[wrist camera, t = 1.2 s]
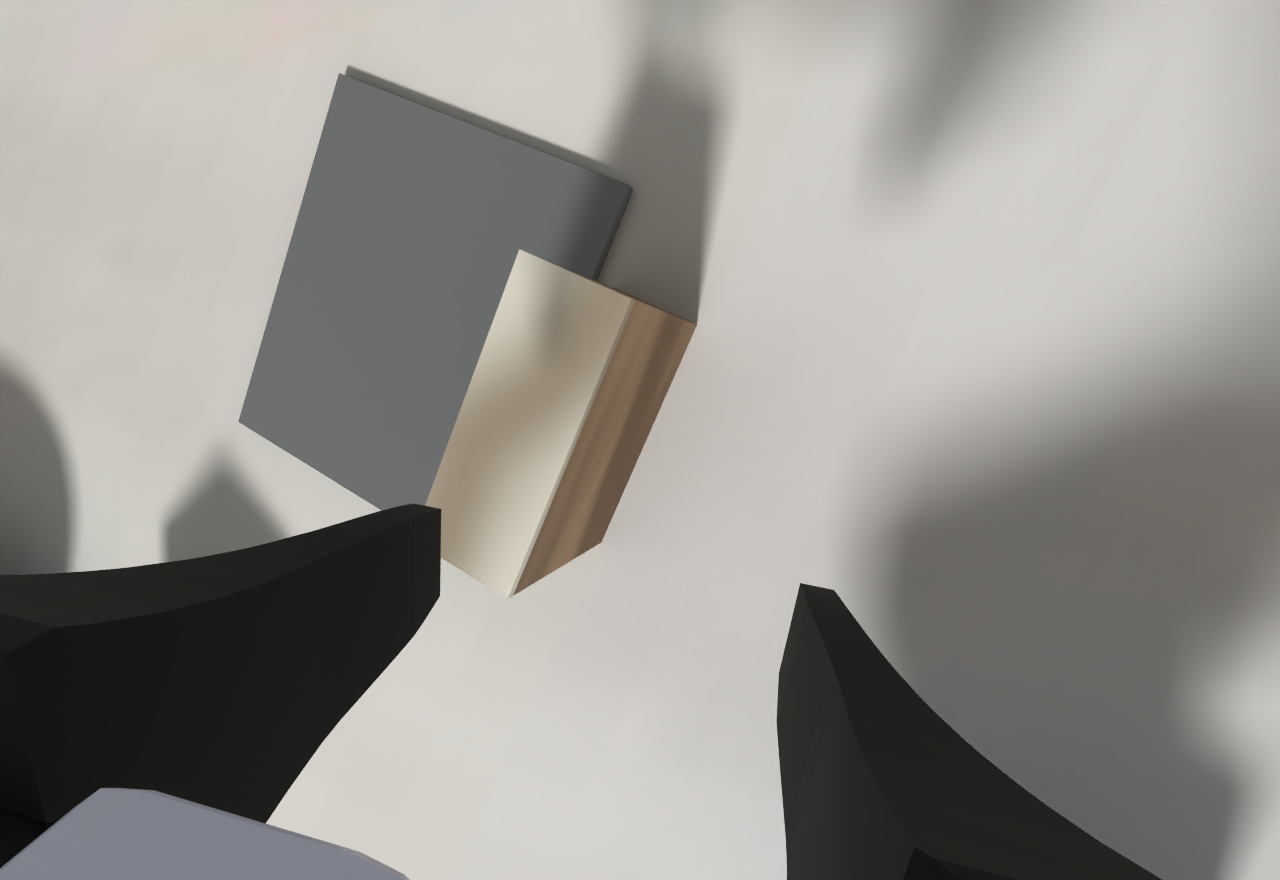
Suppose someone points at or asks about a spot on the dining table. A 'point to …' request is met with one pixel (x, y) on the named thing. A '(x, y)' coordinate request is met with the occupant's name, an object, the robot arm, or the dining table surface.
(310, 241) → the mat
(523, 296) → the two-tone wooden block
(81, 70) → the dining table surface
